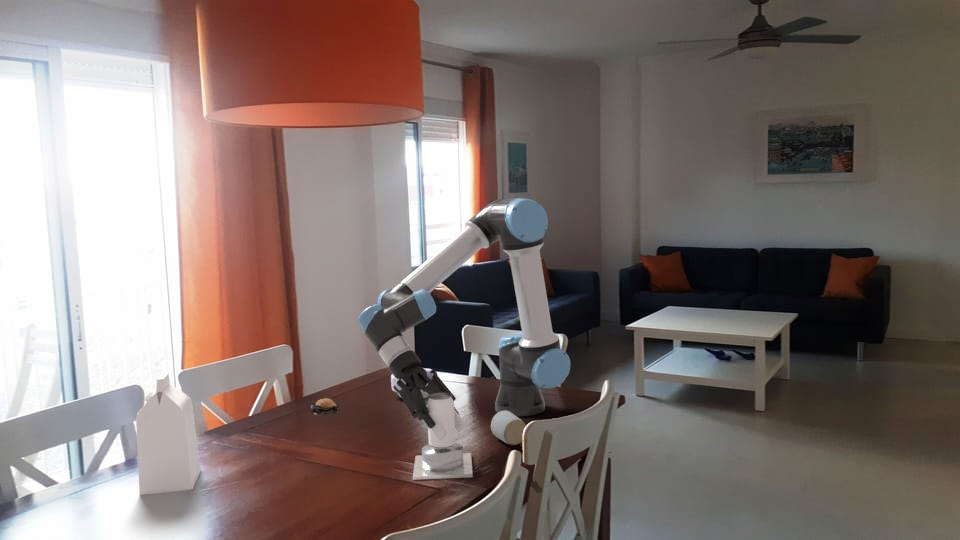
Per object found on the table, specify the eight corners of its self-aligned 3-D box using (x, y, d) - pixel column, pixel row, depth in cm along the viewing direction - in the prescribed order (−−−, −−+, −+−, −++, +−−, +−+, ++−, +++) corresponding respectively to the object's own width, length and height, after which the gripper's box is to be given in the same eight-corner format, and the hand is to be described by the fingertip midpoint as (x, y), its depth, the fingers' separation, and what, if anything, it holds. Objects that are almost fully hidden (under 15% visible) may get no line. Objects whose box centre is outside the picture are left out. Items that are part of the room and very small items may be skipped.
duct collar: (471, 456, 188) (470, 437, 188) (472, 477, 174) (471, 457, 174) (415, 458, 188) (414, 440, 187) (412, 480, 174) (411, 460, 173)
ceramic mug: (504, 449, 192) (504, 420, 192) (490, 440, 200) (489, 412, 199) (540, 442, 197) (539, 414, 196) (524, 433, 204) (524, 406, 204)
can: (461, 443, 181) (459, 394, 179) (442, 450, 176) (440, 401, 174) (442, 437, 185) (440, 390, 184) (423, 445, 180) (421, 396, 179)
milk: (192, 489, 173) (183, 380, 170) (139, 495, 171) (129, 384, 168) (200, 470, 185) (192, 368, 182) (151, 475, 182) (142, 372, 180)
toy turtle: (309, 408, 238) (308, 396, 238) (336, 404, 241) (335, 393, 240) (312, 417, 228) (311, 405, 228) (340, 413, 231) (339, 402, 230)
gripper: (419, 359, 195) (469, 430, 187) (365, 375, 180) (418, 453, 172) (433, 342, 192) (485, 413, 183) (379, 356, 176) (434, 435, 168)
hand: (452, 432), depth 178 cm, fingers closed on can, 6 cm apart
